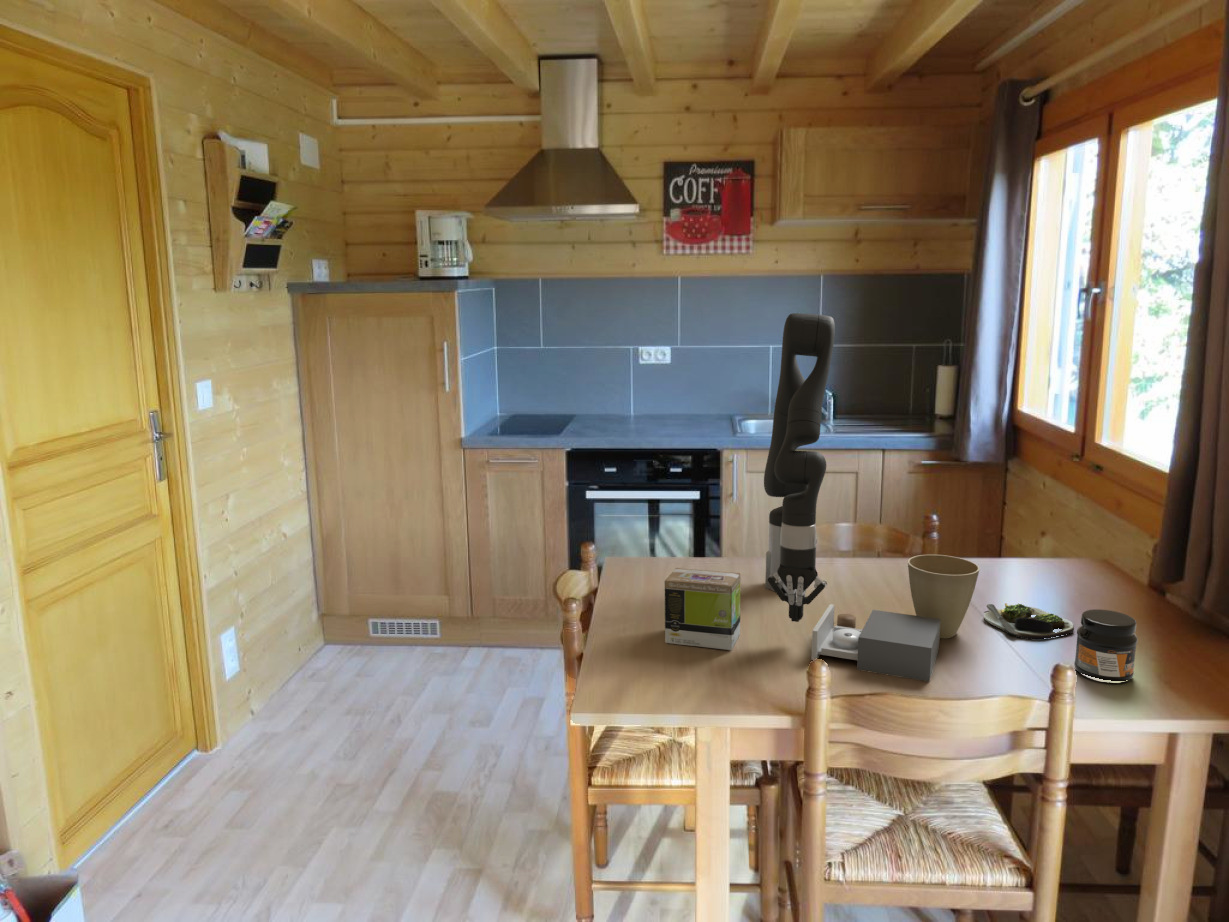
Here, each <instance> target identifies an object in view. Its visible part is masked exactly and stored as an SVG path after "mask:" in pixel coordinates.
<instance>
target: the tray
mask: <svg viewBox="0 0 1229 922" xmlns="http://www.w3.org/2000/svg"><path fill="white" fill-rule="evenodd" d="M834 624H835V604H832V603H831V604H829V605H828V606H827V608H826V610H825V611H824V613H823V614H822V616H821V617H820V618H819V620H818V622H817V623H816V624H815V626H814V627H813V629H812V632H811V633H812V635H811V640H812V641H811V661H814V660H813V659H816V658H818V659H819V657H820V656H821V655H822V656H829V657H833V658H834V657H835V658H841V659H847V660H851V661H853V660H854V661H857V660H858V648H856V649H845V648H841V647H838V646H836V645H834V644H833V632H834V631H836V630H839V629H853V630H857V631H860V632H861V631H862V630H863V628H861V629H860V628H856V627H855V628H848V627H841V626H837V625H834Z"/></svg>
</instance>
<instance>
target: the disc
mask: <svg viewBox="0 0 1229 922" xmlns="http://www.w3.org/2000/svg"><path fill="white" fill-rule="evenodd" d="M860 633H861V632H860V631H857V630H853V629H839V630H836V631H834V632H833V644H834V645H836V646H838V647H841V648H845V649H856V648H858V638H859V635H860Z"/></svg>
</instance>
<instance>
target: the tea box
mask: <svg viewBox="0 0 1229 922" xmlns="http://www.w3.org/2000/svg"><path fill="white" fill-rule="evenodd" d="M740 633H741V573H740V572H732V571H719V570H707V569H706V570H705V569H693V568H683V567H682V568H681V567H675V569H674V570H673V571H672V572H671V573H670V574H669V575H668V576H667V577H666V578H665V579H664V640H665V641H664V642H665V643H666V644H675V645H682V646H691V647H701V648H710V649H718V650H723V651H732V650H733V649H734V646H735V644H736V642H737V640H738V639H739V637H740Z"/></svg>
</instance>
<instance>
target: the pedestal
mask: <svg viewBox="0 0 1229 922" xmlns="http://www.w3.org/2000/svg"><path fill="white" fill-rule="evenodd" d="M836 622H837V623H836V626H841V627H848V628H855V629H856V627H857V626H856V623H857V617H856V615H853V614H850V613H841V614H838V615H837V619H836Z"/></svg>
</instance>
